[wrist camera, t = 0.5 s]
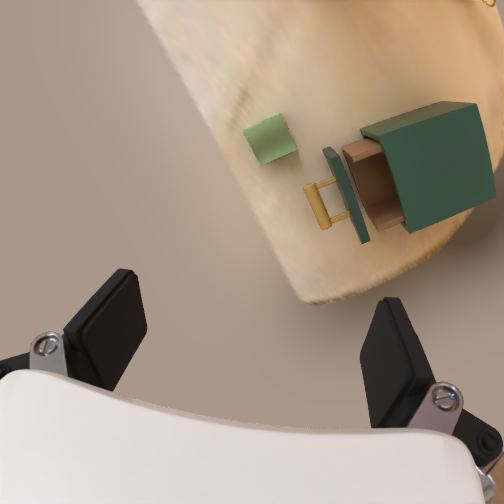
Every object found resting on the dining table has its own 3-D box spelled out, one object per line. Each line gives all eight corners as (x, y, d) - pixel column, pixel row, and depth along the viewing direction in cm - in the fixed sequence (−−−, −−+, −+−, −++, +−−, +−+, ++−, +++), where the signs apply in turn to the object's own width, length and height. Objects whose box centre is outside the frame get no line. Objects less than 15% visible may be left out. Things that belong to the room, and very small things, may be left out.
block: (248, 128, 38) (242, 131, 34) (280, 113, 37) (279, 113, 32) (264, 159, 40) (260, 166, 36) (296, 145, 38) (297, 149, 34)
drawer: (324, 231, 43) (330, 256, 36) (293, 161, 39) (293, 173, 32) (429, 190, 37) (453, 207, 30) (407, 117, 33) (430, 121, 26)
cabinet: (388, 208, 40) (409, 234, 32) (359, 129, 36) (378, 135, 27) (463, 178, 36) (496, 196, 28) (442, 101, 31) (476, 103, 23)
